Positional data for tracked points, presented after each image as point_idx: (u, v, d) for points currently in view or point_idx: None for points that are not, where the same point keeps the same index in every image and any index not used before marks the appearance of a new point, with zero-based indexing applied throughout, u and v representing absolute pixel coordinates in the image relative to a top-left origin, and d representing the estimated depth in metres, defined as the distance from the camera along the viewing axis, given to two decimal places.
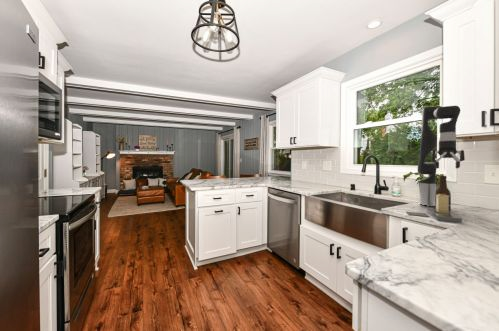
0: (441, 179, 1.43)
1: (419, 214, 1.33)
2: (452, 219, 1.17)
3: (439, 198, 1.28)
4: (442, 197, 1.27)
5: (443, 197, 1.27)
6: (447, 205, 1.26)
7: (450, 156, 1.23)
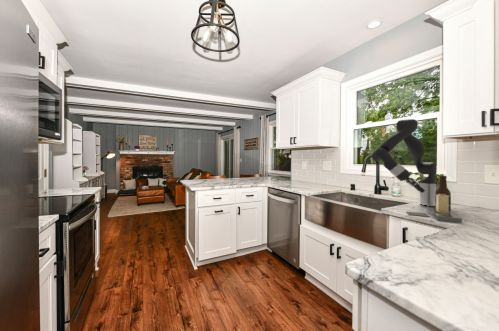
0: (441, 179, 1.43)
1: (419, 214, 1.33)
2: (452, 219, 1.17)
3: (439, 198, 1.28)
4: (442, 197, 1.27)
5: (443, 197, 1.27)
6: (447, 205, 1.26)
7: (411, 184, 1.35)
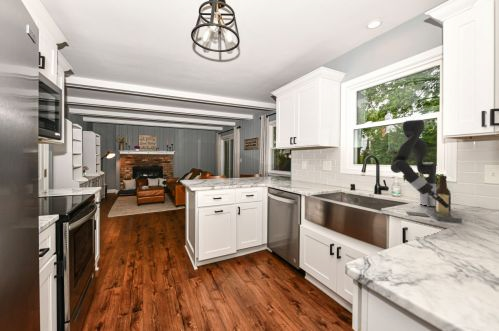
0: (441, 179, 1.43)
1: (419, 214, 1.33)
2: (452, 219, 1.17)
3: None
4: (442, 197, 1.27)
5: (443, 197, 1.27)
6: None
7: (433, 197, 1.30)
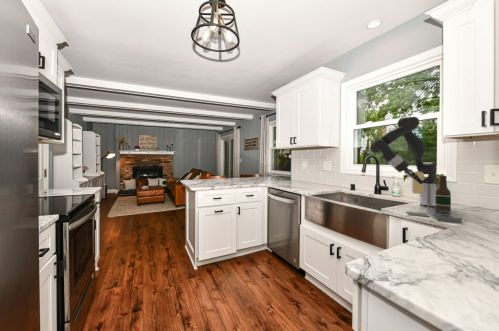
0: (441, 179, 1.43)
1: (419, 214, 1.33)
2: (452, 219, 1.17)
3: (414, 175, 1.33)
4: (417, 174, 1.33)
5: (418, 174, 1.32)
6: None
7: (409, 174, 1.36)
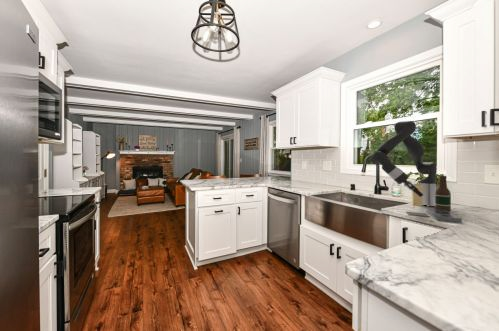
0: (441, 179, 1.43)
1: (419, 214, 1.33)
2: (452, 219, 1.17)
3: None
4: (417, 186, 1.33)
5: (418, 186, 1.32)
6: None
7: (408, 187, 1.36)
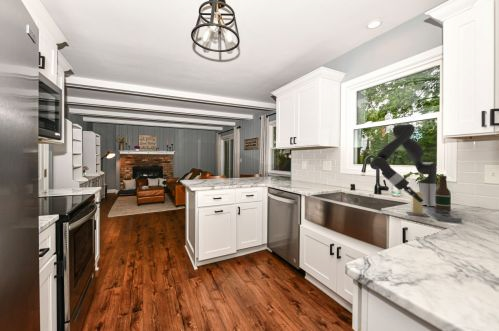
0: (441, 179, 1.43)
1: None
2: (452, 219, 1.17)
3: None
4: None
5: None
6: (421, 202, 1.32)
7: (409, 193, 1.36)
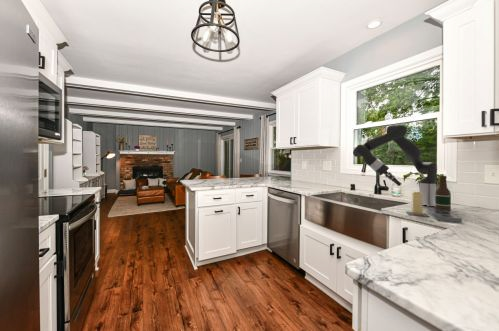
0: (441, 179, 1.43)
1: None
2: (452, 219, 1.17)
3: (414, 196, 1.33)
4: (416, 195, 1.33)
5: (417, 195, 1.33)
6: (421, 202, 1.32)
7: None
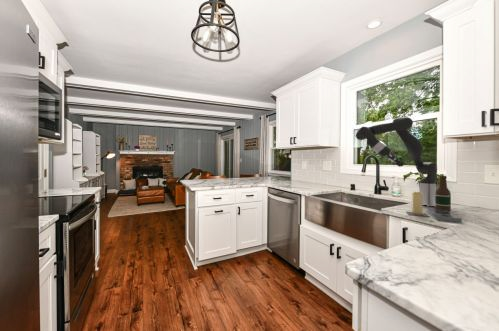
0: (441, 179, 1.43)
1: None
2: (452, 219, 1.17)
3: (414, 196, 1.33)
4: (416, 195, 1.33)
5: (417, 195, 1.33)
6: (421, 202, 1.32)
7: (391, 159, 1.44)
